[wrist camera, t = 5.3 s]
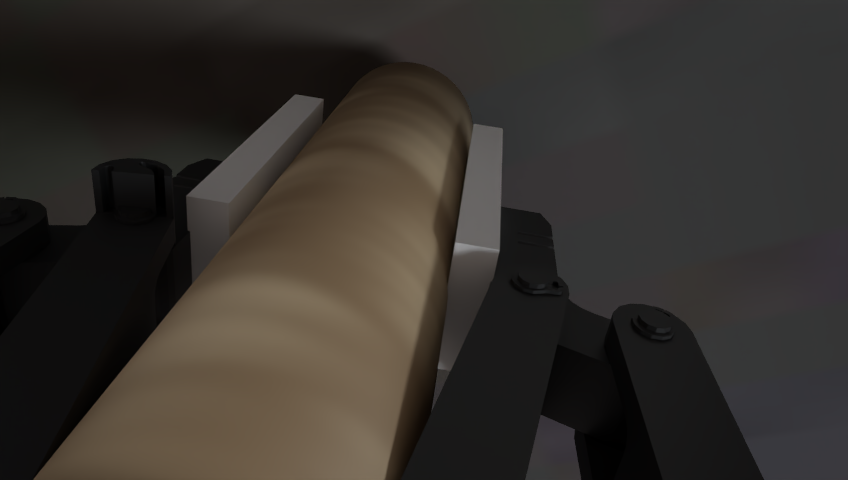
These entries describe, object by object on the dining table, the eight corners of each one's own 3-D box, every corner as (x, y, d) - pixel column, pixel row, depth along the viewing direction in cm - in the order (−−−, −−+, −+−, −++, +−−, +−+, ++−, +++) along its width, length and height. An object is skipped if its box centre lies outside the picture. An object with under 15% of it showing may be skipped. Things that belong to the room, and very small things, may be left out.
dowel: (336, 179, 21) (35, 674, 8) (346, 52, 19) (-34, 416, 6) (461, 200, 21) (376, 744, 7) (483, 73, 19) (422, 502, 5)
